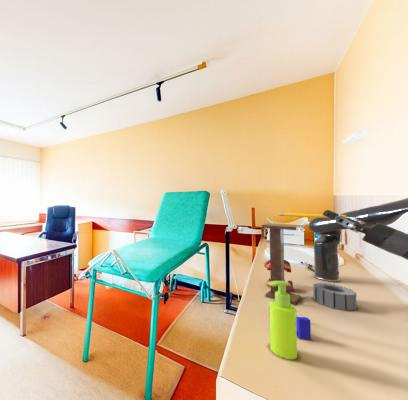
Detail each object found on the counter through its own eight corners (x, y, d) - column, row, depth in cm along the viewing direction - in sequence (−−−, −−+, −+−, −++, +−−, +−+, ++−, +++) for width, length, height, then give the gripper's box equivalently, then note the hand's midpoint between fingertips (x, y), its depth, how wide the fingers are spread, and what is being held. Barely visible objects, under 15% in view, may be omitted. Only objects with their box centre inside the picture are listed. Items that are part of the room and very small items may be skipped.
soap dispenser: (261, 345, 63) (260, 278, 63) (283, 344, 64) (282, 277, 64) (279, 360, 57) (278, 286, 58) (303, 358, 58) (301, 285, 58)
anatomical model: (271, 289, 100) (267, 257, 106) (266, 290, 107) (263, 259, 113) (299, 293, 96) (294, 259, 102) (292, 293, 103) (288, 261, 108)
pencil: (279, 216, 95) (278, 213, 95) (280, 215, 95) (280, 212, 95) (346, 219, 78) (346, 215, 78) (346, 218, 79) (346, 214, 79)
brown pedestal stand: (263, 295, 96) (261, 224, 96) (271, 290, 102) (269, 223, 102) (297, 306, 86) (296, 227, 87) (304, 299, 92) (302, 225, 92)
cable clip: (272, 317, 78) (272, 301, 79) (286, 318, 78) (286, 302, 78) (294, 337, 67) (293, 318, 67) (310, 339, 66) (310, 320, 66)
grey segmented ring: (309, 294, 97) (309, 281, 97) (347, 300, 91) (347, 286, 91) (319, 306, 86) (319, 291, 86) (362, 313, 80) (362, 297, 80)
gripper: (398, 228, 73) (334, 203, 86) (397, 232, 66) (327, 204, 78) (381, 245, 76) (322, 219, 89) (378, 251, 69) (314, 221, 81)
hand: (325, 212), depth 83 cm, fingers closed on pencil, 1 cm apart
